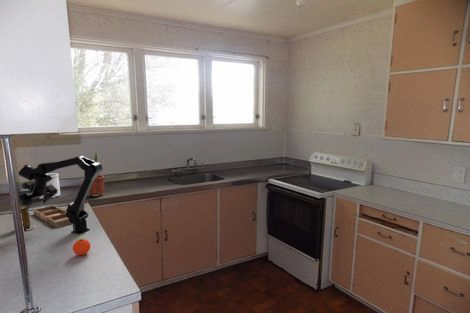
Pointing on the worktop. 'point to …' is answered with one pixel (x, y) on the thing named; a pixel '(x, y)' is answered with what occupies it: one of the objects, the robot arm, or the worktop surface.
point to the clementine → (81, 246)
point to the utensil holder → (54, 183)
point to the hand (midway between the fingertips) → (35, 206)
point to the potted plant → (97, 183)
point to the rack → (53, 215)
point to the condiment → (25, 218)
